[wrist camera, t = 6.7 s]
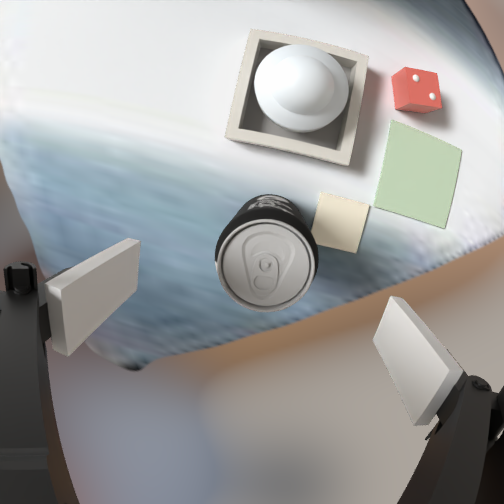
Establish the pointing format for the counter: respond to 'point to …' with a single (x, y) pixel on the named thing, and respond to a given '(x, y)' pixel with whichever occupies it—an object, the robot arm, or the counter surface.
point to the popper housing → (270, 135)
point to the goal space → (417, 175)
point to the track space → (339, 222)
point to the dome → (301, 88)
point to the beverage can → (266, 255)
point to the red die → (416, 90)
